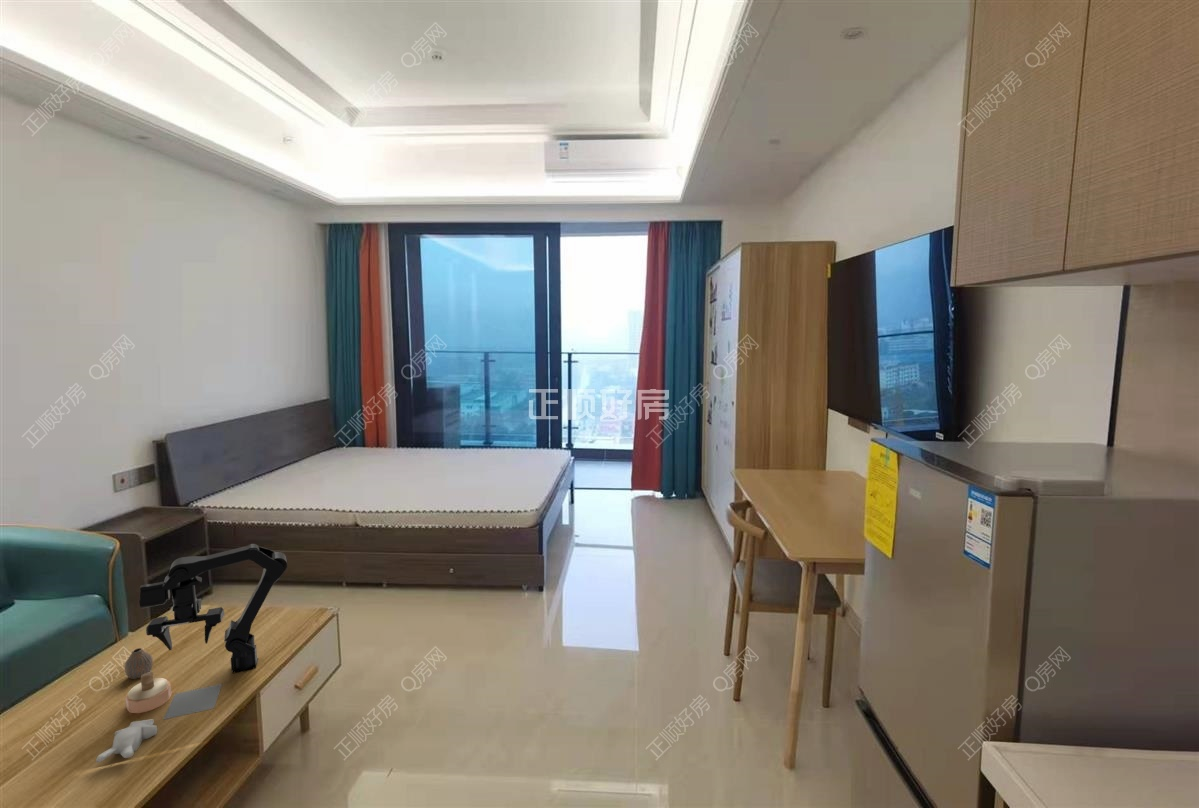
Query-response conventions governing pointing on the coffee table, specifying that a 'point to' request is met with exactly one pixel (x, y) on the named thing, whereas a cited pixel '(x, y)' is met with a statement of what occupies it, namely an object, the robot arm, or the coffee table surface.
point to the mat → (193, 701)
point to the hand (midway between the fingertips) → (189, 646)
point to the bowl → (148, 701)
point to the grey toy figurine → (130, 739)
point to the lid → (147, 687)
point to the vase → (138, 664)
